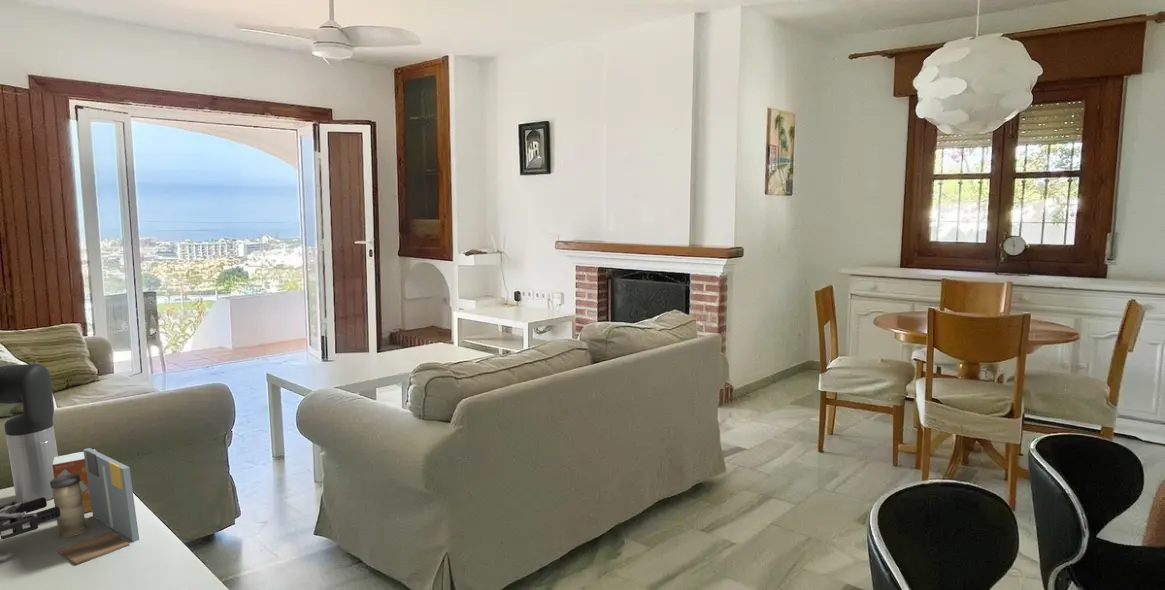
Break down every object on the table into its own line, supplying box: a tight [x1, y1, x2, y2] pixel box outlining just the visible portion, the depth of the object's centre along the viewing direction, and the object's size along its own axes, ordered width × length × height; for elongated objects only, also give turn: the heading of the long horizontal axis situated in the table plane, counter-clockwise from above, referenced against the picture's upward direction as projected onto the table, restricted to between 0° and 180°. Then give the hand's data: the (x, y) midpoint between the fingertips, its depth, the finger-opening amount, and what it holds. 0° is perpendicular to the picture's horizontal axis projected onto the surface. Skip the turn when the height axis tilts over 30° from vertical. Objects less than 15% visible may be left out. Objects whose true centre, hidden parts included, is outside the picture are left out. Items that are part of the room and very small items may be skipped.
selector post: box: [50, 474, 87, 538], centre depth 153 cm, size 5×5×12 cm
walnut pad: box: [57, 530, 130, 566], centre depth 146 cm, size 10×10×1 cm
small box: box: [53, 449, 96, 514], centre depth 164 cm, size 8×6×13 cm
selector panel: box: [82, 447, 140, 543], centre depth 154 cm, size 22×2×16 cm, turn 53°
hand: (52, 506), depth 151 cm, fingers open, 8 cm apart
